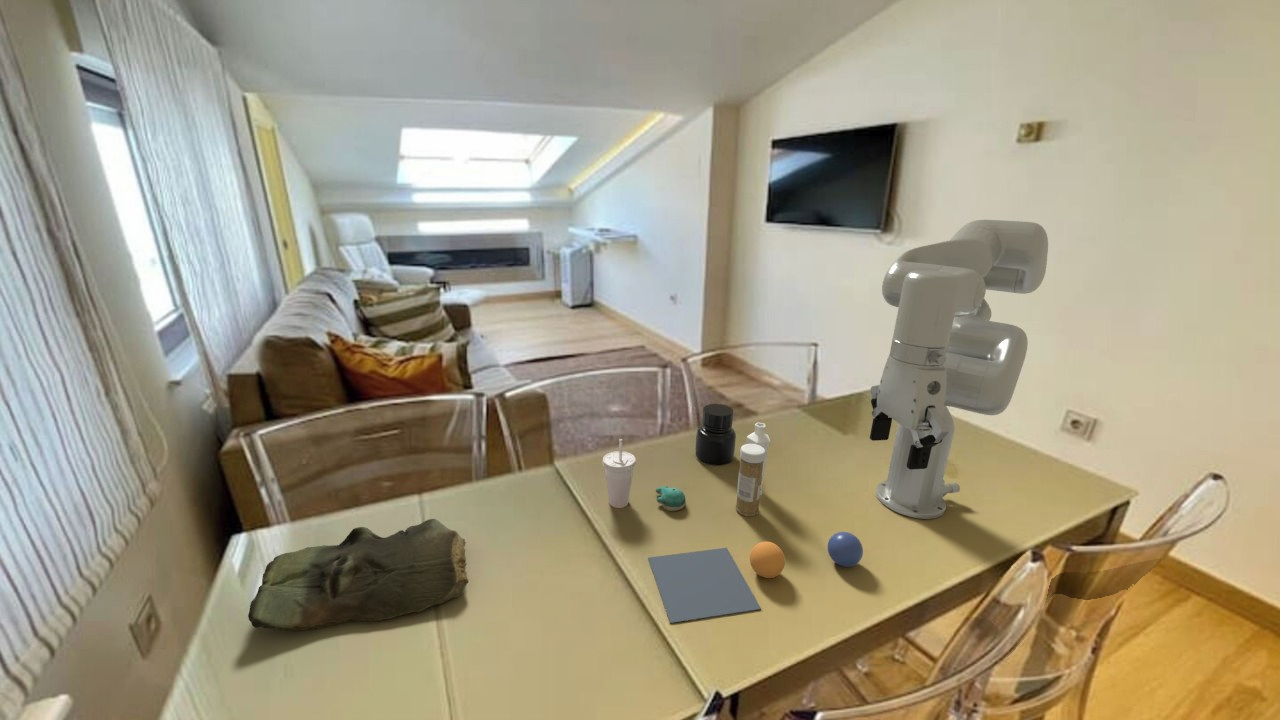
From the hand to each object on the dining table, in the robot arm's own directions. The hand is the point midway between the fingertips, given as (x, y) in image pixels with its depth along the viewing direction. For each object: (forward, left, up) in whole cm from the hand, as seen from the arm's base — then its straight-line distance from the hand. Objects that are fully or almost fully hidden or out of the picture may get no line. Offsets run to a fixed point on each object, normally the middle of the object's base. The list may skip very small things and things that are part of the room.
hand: (896, 453), depth 85 cm
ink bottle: (+17, -36, -19) cm, 44 cm away
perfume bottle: (+14, -21, -19) cm, 32 cm away
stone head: (+83, -8, -20) cm, 85 cm away
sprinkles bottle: (+18, -15, -19) cm, 30 cm away
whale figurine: (+32, -21, -20) cm, 43 cm away
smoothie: (+42, -22, -19) cm, 51 cm away
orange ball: (+22, +2, -16) cm, 27 cm away
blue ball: (+8, +2, -16) cm, 18 cm away
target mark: (+33, +2, -19) cm, 38 cm away
